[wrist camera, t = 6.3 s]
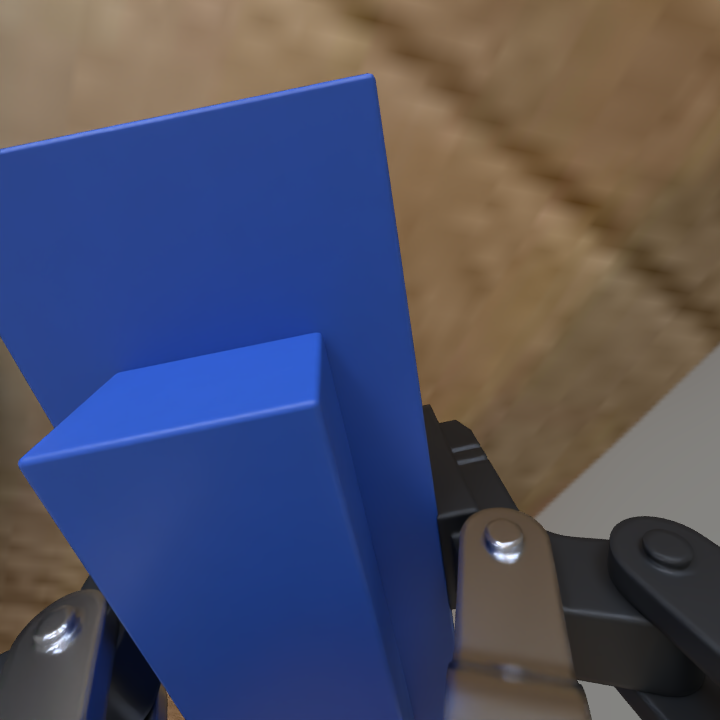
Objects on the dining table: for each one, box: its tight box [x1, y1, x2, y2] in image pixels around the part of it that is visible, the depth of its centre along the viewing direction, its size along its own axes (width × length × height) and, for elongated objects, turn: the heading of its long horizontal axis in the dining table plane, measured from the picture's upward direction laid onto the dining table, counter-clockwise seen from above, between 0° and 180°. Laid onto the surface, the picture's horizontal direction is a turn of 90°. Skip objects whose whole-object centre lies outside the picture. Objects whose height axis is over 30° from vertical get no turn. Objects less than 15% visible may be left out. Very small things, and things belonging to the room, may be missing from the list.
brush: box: [0, 73, 455, 720], centre depth 8 cm, size 14×5×6 cm, turn 11°
